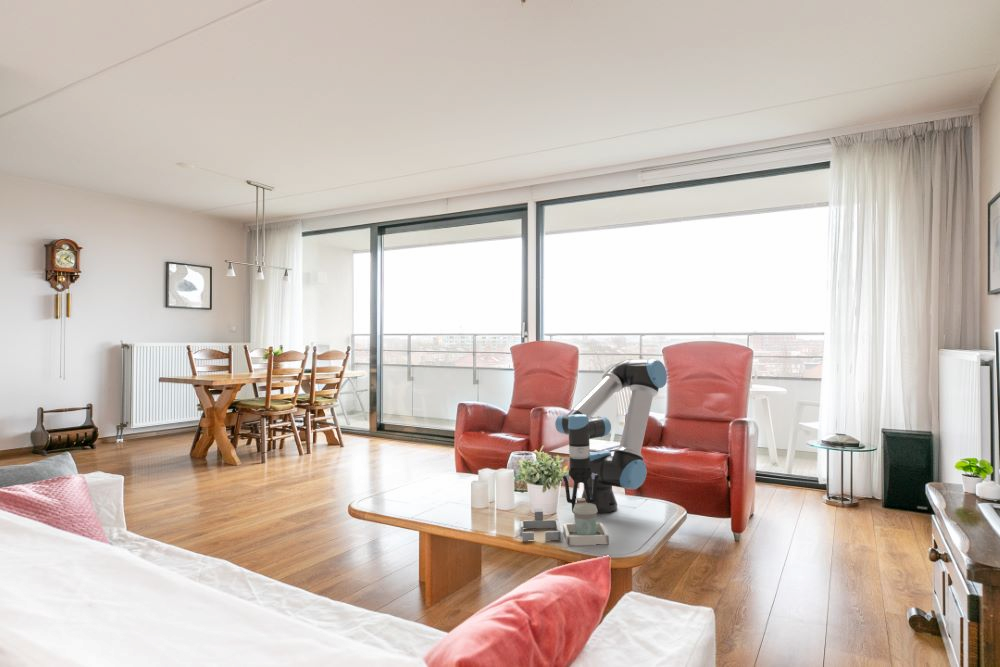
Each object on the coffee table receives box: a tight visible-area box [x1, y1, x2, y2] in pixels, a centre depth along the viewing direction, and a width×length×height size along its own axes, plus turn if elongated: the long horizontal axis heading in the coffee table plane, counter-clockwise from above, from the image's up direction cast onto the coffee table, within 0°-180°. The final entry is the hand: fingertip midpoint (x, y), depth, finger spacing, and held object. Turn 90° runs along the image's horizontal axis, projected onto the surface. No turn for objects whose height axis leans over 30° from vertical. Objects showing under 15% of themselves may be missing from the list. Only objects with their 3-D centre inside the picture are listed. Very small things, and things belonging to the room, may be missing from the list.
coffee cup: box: [572, 503, 598, 535], centre depth 206 cm, size 8×8×12 cm
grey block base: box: [519, 508, 563, 542], centre depth 216 cm, size 19×14×6 cm
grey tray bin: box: [562, 497, 610, 546], centre depth 211 cm, size 19×14×11 cm
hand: (581, 521), depth 218 cm, fingers closed on grey tray bin, 3 cm apart
